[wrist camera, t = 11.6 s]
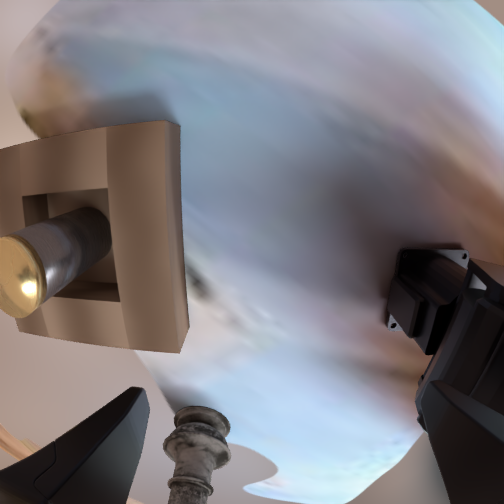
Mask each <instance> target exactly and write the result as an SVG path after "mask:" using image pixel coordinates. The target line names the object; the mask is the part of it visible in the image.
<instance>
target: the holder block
mask: <svg viewBox="0 0 504 504" xmlns="http://www.w3.org/2000/svg"><path fill="white" fill-rule="evenodd" d="M81 207H93V208H95V209H97V210H99V211H100V212H102V213H103V214H104V215H105V216H106V218H107V219H108V221H109V223H110V225H111V236H112V246H111V249H110V251H109V253H108V254H107V255H106V256H105V257H104V258H103V259H102V260H100V261H99V262H97V263H96V264H95V265H93V266H92V267H91V268H89V269H88V270H86V271H85V272H84V273H82V274H81V275H80V276H78V277H77V278H76V279H74V280H73V281H72V282H70V283H69V284H68V285H66V286H65V287H64V288H62V289H61V290H60V291H58V292H57V293H56V294H55V295H53V296H52V297H51V298H49V299H48V300H47V301H46V302H44V303H43V304H42V305H41V306H39V307H38V308H37V309H36V310H34V311H33V312H32V313H31V314H29V315H28V316H26V317H24V318H15V320H16V322H17V326H18V329H19V331H20V332H25V333H29V334H34V335H39V336H44V337H50V338H55V339H61V340H67V341H73V342H79V343H86V344H94V345H100V346H108V347H116V348H125V349H134V350H143V351H154V352H166V353H179V354H180V351H181V348H182V346H183V343H184V340H185V338H186V335H187V332H188V330H189V327H190V326H189V315H188V304H187V292H186V279H185V264H184V248H183V229H182V205H181V166H180V126H179V125H176V124H174V123H171V122H169V121H166V120H160V121H149V122H140V123H131V124H123V125H115V126H108V127H102V128H95V129H89V130H83V131H77V132H72V133H67V134H62V135H57V136H52V137H47V138H43V139H38V140H34V141H30V142H26V143H22V144H18V145H14V146H10V147H7V148H3V149H0V238H1V237H3V236H6V235H8V234H11V233H13V232H16V231H18V230H21V229H23V228H26V227H28V226H31V225H34V224H36V223H39V222H42V221H44V220H47V219H50V218H53V217H55V216H58V215H61V214H64V213H67V212H70V211H72V210H75V209H78V208H81Z"/></svg>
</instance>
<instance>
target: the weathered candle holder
mask: <svg viewBox="0 0 504 504" xmlns="http://www.w3.org/2000/svg"><path fill="white" fill-rule="evenodd" d="M174 424H175V426H176V429H175V430H174V431H173V432H172V433H171V434H170V436H168V437H167V438H166V439H165V441H164V443H163V449H164V451H165V453H166V455H167V456H168V457H169V458H170V459H171V460H173V461H174V462H175V463H176V466H175V470H174V474H173V478H171V479H169V481H168V486H169V488H170V489H171V492H170V496H169V501H168V504H207V497H208V496H210V495H212V493H213V487H212V486H211V485H210V482H211V474H212V471H213V470H216V469H219V468H222V467H224V466H225V465H227V464H228V463H229V461H230V459H231V453H230V450H229V449H228V445H227V442H226V440H225V437H226V436H227V435H228V434H229V432H230V423H229V421H228V420H227V418H226V417H225V416H223V415H222V414H221V413H219V412H217V411H216V410H213V409H210V408H207V407H201V406H191V407H186V408H183V409H181V410H179V411H178V412H177V413H176V415H175V417H174Z"/></svg>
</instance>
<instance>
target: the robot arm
mask: <svg viewBox="0 0 504 504" xmlns="http://www.w3.org/2000/svg"><path fill="white" fill-rule="evenodd" d="M405 253H407V256H406V257H405V258H403V255H404V254H405ZM463 254H464V257H463V258H462V256H463ZM468 260H469V261H468ZM467 267H468V270H467ZM387 310H388V316H387V321H386V327H387V328H388V330H389V331H402V330H403V331H404V332H405V334H406V335H407V336H408V337H409V338H414V340H415V341H416V342H417V344H418V345H419V346H420V348H421V349H422V350H423V352H424V353H425V354H426V355H433V357H432V359H431V361H430V363H429V365H428V367H427V369H426V371H425V373H424V375H422V376H421V378H420V379H419V381H418V385H419V388H418V390H417V392H416V398H415V403H416V407H417V411H418V414H419V416H418V417H417V421H418V423H419V424H420V426H421V427H422V429H423V430H424V431H425V432H426V433H427V434H428V437H429V440H430V443H431V446H432V449H433V452H434V455H435V458H436V460H437V463H438V466H439V469H440V472H441V475H442V478H443V481H444V484H445V487H446V490H447V493H448V497H449V500H450V503H451V504H504V266H501V265H497V264H493V263H489V262H485V261H481V260H477V259H473V258H469V252H468V251H467V250H465V249H458V248H402V249H400V251H399V253H398V258H397V265H396V272H395V276H394V277H393V279H392V283H391V289H390V295H389V301H388V306H387ZM392 323H394V325H393V326H391V324H392ZM149 413H150V407H149V403H148V399H147V395H146V392H145V390H144V389H143V388H140V387H130V388H129V389H127V390H126V391H125V392H123V393H122V394H120V395H119V396H117V397H116V398H115V399H113V400H112V401H110V402H109V403H108V404H106V405H105V406H103V407H102V408H101V409H99V410H98V411H96V412H95V413H93V414H92V415H91V416H89V417H88V418H86V419H85V420H83V421H82V422H80V423H79V424H78V425H76V426H75V427H73V428H72V429H70V430H69V431H67V432H66V433H64V434H63V435H62V436H60V437H59V438H57V439H56V440H55V441H53V442H51V443H50V444H48V445H47V446H45V447H43V448H42V449H40V450H39V451H37V452H35V453H34V454H32V455H30V456H28V457H26V458H25V459H23V460H21V461H19V462H17V463H15V464H13V465H11V466H9V467H7V468H4V469H2V470H0V504H126V501H127V498H128V495H129V491H130V488H131V485H132V482H133V479H134V475H135V473H136V469H137V466H138V463H139V460H140V457H141V453H142V449H143V444H144V438H145V433H146V428H147V423H148V418H149Z"/></svg>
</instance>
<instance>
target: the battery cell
mask: <svg viewBox="0 0 504 504" xmlns="http://www.w3.org/2000/svg"><path fill="white" fill-rule="evenodd" d="M111 246H112V236H111V225H110V223H109V221H108V219H107V218H106V216H105V215H104V214H103V213H102V212H100V211H99V210H97V209H95V208H93V207H81V208H78V209H75V210H72V211H70V212H67V213H64V214H61V215H58V216H55V217H53V218H50V219H47V220H44V221H42V222H39V223H36V224H34V225H31V226H28V227H26V228H23V229H21V230H18V231H16V232H13V233H11V234H8V235H6V236H3V237H1V238H0V309H2V310H3V311H4V312H5V313H6V314H8V315H10V316H12V317H15V318H24V317H26V316H28V315H29V314H31V313H32V312H33V311H34V310H36V309H37V308H38V307H39V306H41V305H42V304H43V303H44V302H46V301H47V300H48V299H49V298H51V297H52V296H53V295H55V294H56V293H57V292H58V291H60V290H61V289H62V288H64V287H65V286H66V285H68V284H69V283H70V282H72V281H73V280H74V279H76V278H77V277H78V276H80V275H81V274H82V273H84V272H85V271H86V270H88V269H89V268H91V267H92V266H93V265H95V264H96V263H97V262H99V261H100V260H102V259H103V258H104V257H105V256H106V255H107V254H108V253H109V251H110V249H111Z"/></svg>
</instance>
